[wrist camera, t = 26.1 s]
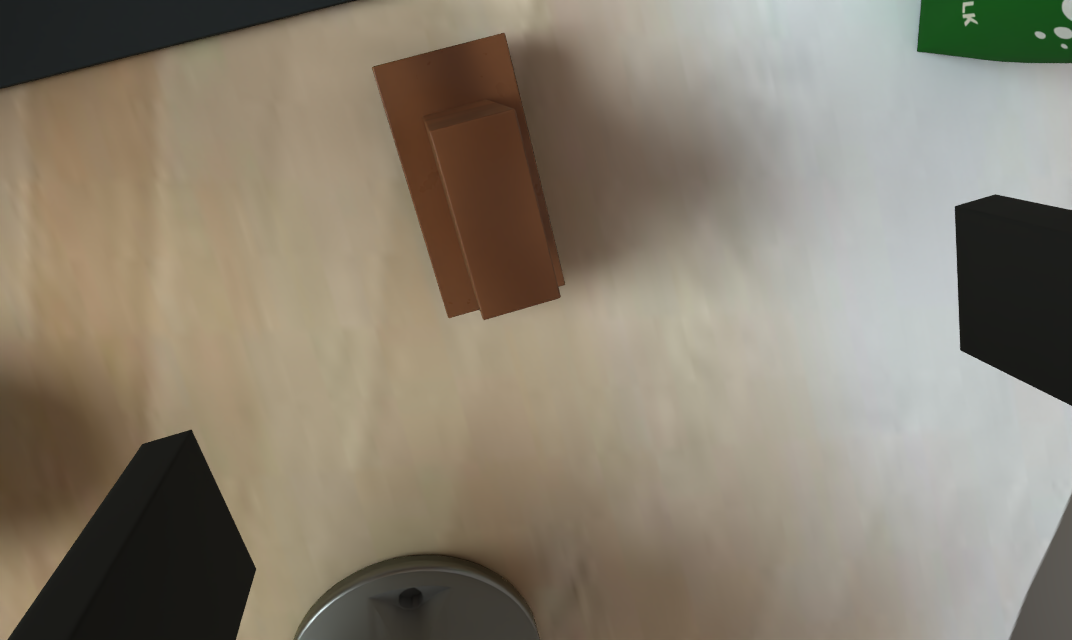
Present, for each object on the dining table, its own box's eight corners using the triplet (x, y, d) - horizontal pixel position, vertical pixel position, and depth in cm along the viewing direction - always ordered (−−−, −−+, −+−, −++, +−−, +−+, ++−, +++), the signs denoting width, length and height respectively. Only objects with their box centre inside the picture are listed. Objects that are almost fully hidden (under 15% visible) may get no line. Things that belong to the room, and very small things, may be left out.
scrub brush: (444, 299, 39) (462, 392, 28) (374, 67, 35) (361, 65, 24) (553, 269, 40) (613, 347, 28) (496, 35, 35) (540, 19, 24)
